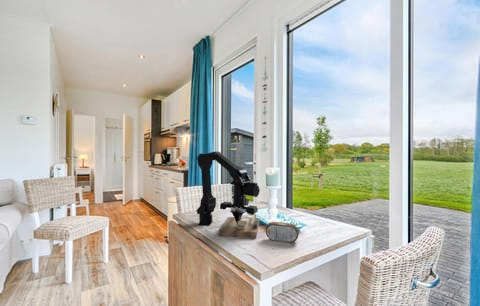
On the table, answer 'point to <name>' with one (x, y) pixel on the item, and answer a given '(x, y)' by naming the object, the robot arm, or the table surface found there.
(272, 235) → the retro speaker
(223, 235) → the stool seat
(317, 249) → the table surface
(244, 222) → the stool leg
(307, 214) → the table surface
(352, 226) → the table surface
